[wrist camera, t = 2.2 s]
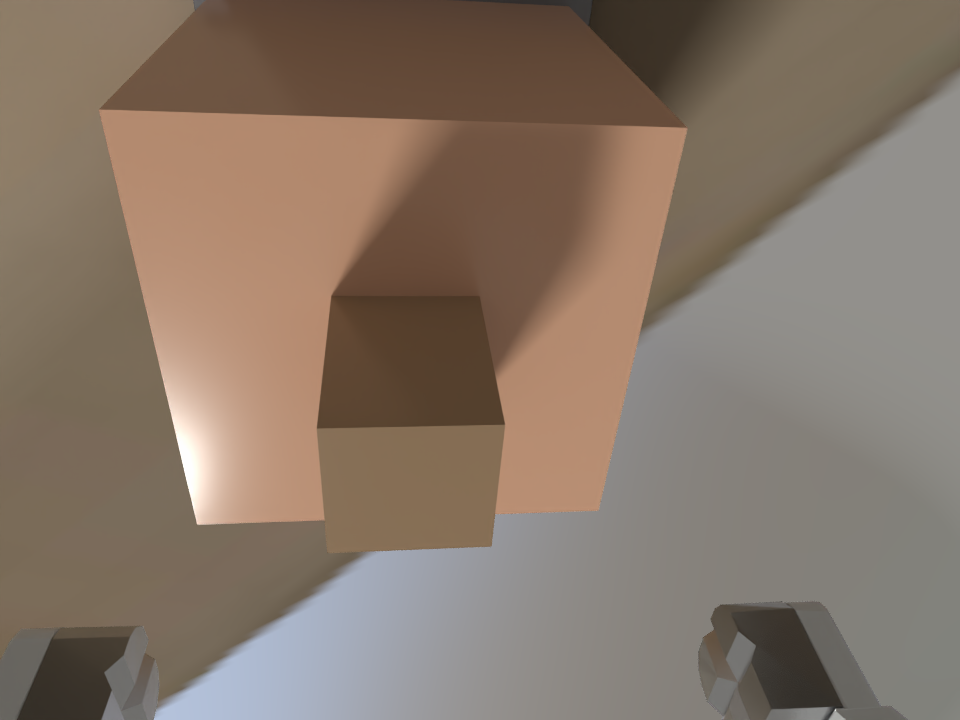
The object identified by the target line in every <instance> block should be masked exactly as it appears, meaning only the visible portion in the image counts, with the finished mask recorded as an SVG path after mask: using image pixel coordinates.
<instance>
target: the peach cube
mask: <svg viewBox="0 0 960 720" xmlns="http://www.w3.org/2000/svg"><path fill="white" fill-rule="evenodd" d="M99 112H100V116H101V120H102V124H103V128H104V133H105V137H106V141H107V145H108V150H109V154H110V158H111V162H112V166H113V171H114V175H115V179H116V183H117V188H118V192H119V196H120V200H121V204H122V209H123V213H124V217H125V221H126V225H127V230H128V234H129V238H130V242H131V247H132V251H133V255H134V259H135V263H136V268H137V272H138V276H139V280H140V285H141V289H142V293H143V297H144V301H145V306H146V310H147V314H148V318H149V323H150V327H151V331H152V335H153V339H154V344H155V348H156V352H157V356H158V360H159V365H160V369H161V373H162V377H163V382H164V386H165V390H166V394H167V398H168V403H169V407H170V411H171V415H172V420H173V424H174V428H175V432H176V436H177V441H178V445H179V449H180V453H181V458H182V462H183V466H184V470H185V474H186V479H187V483H188V487H189V491H190V495H191V500H192V504H193V508H194V512H195V517H196V521H197V525H201V524H229V523H258V522H286V521H315V520H325V531H326V542H327V553H342V552H367V551H391V550H415V549H440V548H464V547H490V546H492V537H493V528H494V519H495V514H513V513H540V512H569V511H596V510H597V511H598V510H599V506H600V502H601V497H602V493H603V489H604V484H605V480H606V475H607V471H608V467H609V462H610V459H611V454H612V450H613V446H614V441H615V437H616V433H617V428H618V424H619V420H620V416H621V411H622V407H623V403H624V398H625V394H626V390H627V386H628V381H629V377H630V373H631V368H632V364H633V360H634V355H635V351H636V347H637V343H638V338H639V334H640V330H641V326H642V321H643V317H644V313H645V308H646V304H647V300H648V296H649V291H650V287H651V283H652V278H653V274H654V270H655V265H656V261H657V257H658V253H659V248H660V244H661V240H662V235H663V231H664V227H665V223H666V218H667V214H668V210H669V205H670V201H671V197H672V193H673V188H674V184H675V180H676V175H677V171H678V167H679V162H680V158H681V154H682V150H683V145H684V141H685V137H686V132H687V127H686V126H685V125H684V124H683V123H682V122H681V121H680V120H679V119H678V118H677V117H676V115H675V114H674V113H673V112H672V111H671V110H670V109H669V108H668V107H667V106H666V105H665V104H664V103H663V102H662V101H661V100H660V99H659V98H658V97H657V96H656V95H655V94H654V93H653V92H652V91H651V90H650V89H649V88H648V87H647V86H646V85H645V84H644V83H643V82H642V81H641V80H640V79H639V78H638V77H637V76H636V75H635V74H634V72H633V71H632V70H631V69H630V68H629V67H628V66H627V65H626V64H625V63H624V62H623V61H622V60H621V59H620V58H619V57H618V56H617V55H616V54H615V53H614V52H613V51H612V50H611V49H610V48H609V47H608V46H607V45H606V44H605V43H604V42H603V41H602V40H601V39H600V38H599V37H598V36H597V35H596V34H595V33H594V32H593V31H592V29H591V28H590V27H589V26H588V25H587V24H586V23H585V22H584V21H583V20H582V19H581V18H580V17H579V16H578V15H577V14H576V13H575V12H574V11H573V10H572V9H571V8H570V7H569V6H554V5H534V4H515V3H495V2H476V1H456V0H205V1H204V2H203V3H202V4H201V5H200V6H199V7H198V8H197V9H196V10H195V11H194V12H193V13H192V14H191V15H190V17H189V18H188V19H187V20H186V21H185V22H184V23H183V24H182V25H181V26H180V27H179V28H178V29H177V30H176V31H175V32H174V33H173V34H172V35H171V36H170V37H169V38H168V39H167V40H166V41H165V42H164V43H163V44H162V45H161V46H160V47H159V48H158V49H157V50H156V51H155V52H154V54H153V55H152V56H151V57H150V58H149V59H148V60H147V61H146V62H145V63H144V64H143V65H142V66H141V67H140V68H139V69H138V70H137V71H136V72H135V73H134V74H133V75H132V76H131V77H130V78H129V79H128V80H127V81H126V82H125V83H124V84H123V85H122V86H121V87H120V88H119V89H118V91H117V92H116V93H115V94H114V95H113V96H112V97H111V98H110V99H109V100H108V101H107V102H106V103H105V104H104V105H103V106H102V107H101V108H100V109H99Z"/></svg>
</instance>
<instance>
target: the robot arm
mask: <svg viewBox="0 0 960 720" xmlns="http://www.w3.org/2000/svg"><path fill="white" fill-rule="evenodd" d="M711 622H712V624H713V627H714V630H713V631H712V632H710V633H709V634H707V635H706V636H704V637H703V640H702V643H701V645H700V648H699V652H698V659H699V660H698V667H699V674H700V680H701V685H702V688H703V691H704V694H705V697H706V700H707V702H708V703H709V704H710V705H711V706H712V707H713V708H715V709H716V710H717V711H718V712H719V713H720V714H721V715H722V716H723V717H722V720H908V719H907V718H906V717H904V716H903V715H902V714H901V713H899V712H898V711H897V710H896V709H894V708H893V707H892V706H881V705H880V703H879V701H878V699H877V698H876V696H875V694H874V692H873V690H872V688H871V687H870V685H869V683H868V681H867V680H866V678H865V676H864V674H863V672H862V671H861V669H860V667H859V665H858V663H857V662H856V660H855V658H854V656H853V655H852V653H851V651H850V649H849V647H848V645H847V644H846V642H845V640H844V638H843V637H842V635H841V633H840V631H839V629H838V627H837V626H836V624H835V622H834V620H833V619H832V617H831V615H830V613H829V612H828V610H827V608H826V607H825V606H823V605H822V604H821V603H820V602H817V601H805V602H803V601H802V602H782V601H781V602H764V603H744V604H726V605H720V606H719V607H717V608H715V610H714V612H713V615H712V617H711ZM147 643H148V638H147V635H146V633H145V630H144V628H143V626H115V627H75V628H64V627H57V628H30V629H21V630H20V631H19V632H18V633H17V634H16V635H15V636H14V637H13V639H12V640H11V641H10V642H9V644H8V646H7V648H6V650H5V652H4V654H3V656H2V658H1V660H0V720H154V716H155V712H156V708H157V701H158V692H159V675H158V668H157V665H156V661H155V659H154V658H152V657H150V656H149V655H147V654H146V653H145V650H146V646H147Z"/></svg>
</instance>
